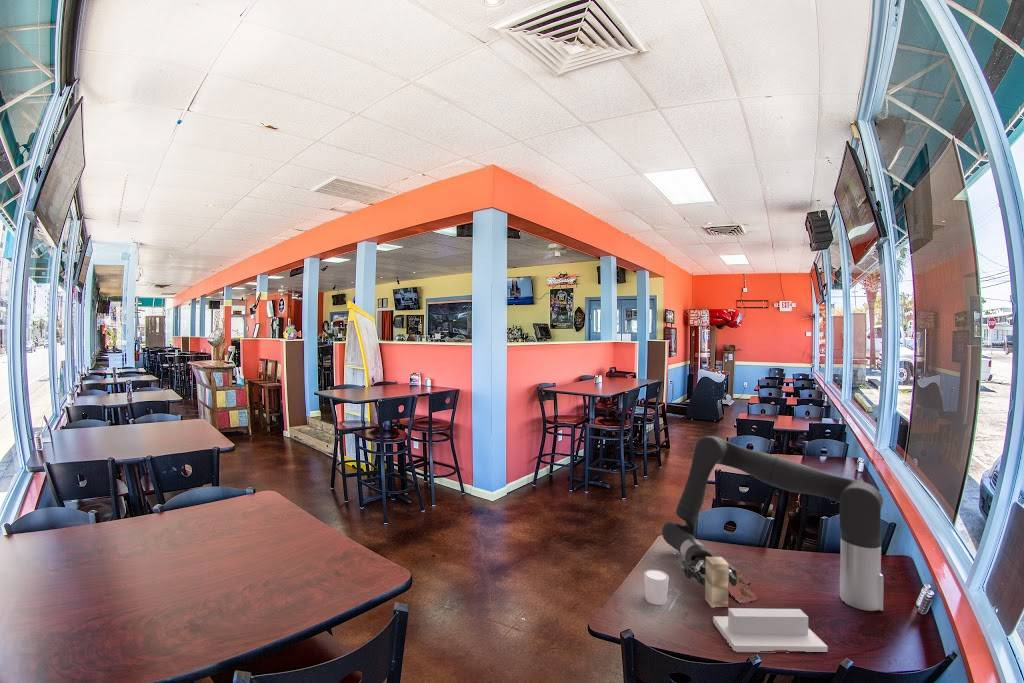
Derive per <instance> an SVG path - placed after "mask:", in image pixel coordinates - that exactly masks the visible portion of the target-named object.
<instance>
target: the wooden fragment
mask: <svg viewBox="0 0 1024 683" xmlns="http://www.w3.org/2000/svg"><path fill="white" fill-rule="evenodd" d="M739 572H740V570H738V571H737V579H738V580H739V582H738V583H742V584H746V583H745V581H743V580H744V579H742V578H741V576H742V575H743V574H742V573H743V572H741V573H740V575H738V574H739ZM745 578H747V577H746V576H745ZM746 585H748V584H746ZM746 585H744V586H743V588H746V587H745V586H746ZM741 586H742V585H741ZM748 586H749V585H748ZM750 588H751V587H748V588H746V590H747V589H750ZM739 589H741V590H739ZM739 589H738V590H739V591H740V592H741V594H742V595H743V596H744V597H746V596H747V595H748V596H747V597H746V598H748V597H750V598H753V596H751V595H750V594H748V593H747V592H746V591H745V590H744V589H742V588H739ZM729 594H731V593H730V591H728V595H729ZM731 597H732V595H731ZM742 599H743V598H742V597H741V598H735V599H734V600H735V601H738V604H739V603H741V602H746V600H742ZM753 599H754V598H753Z"/></svg>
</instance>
